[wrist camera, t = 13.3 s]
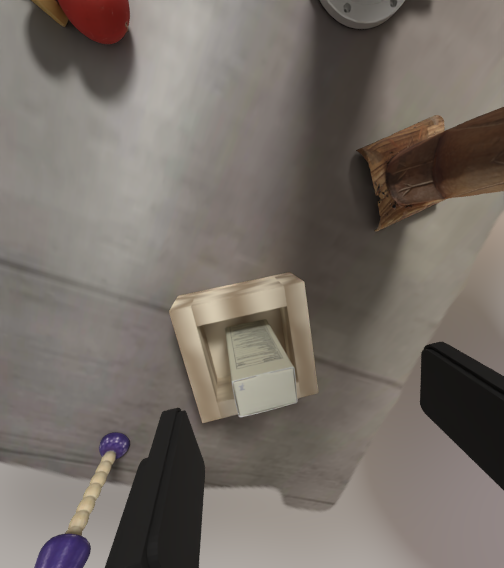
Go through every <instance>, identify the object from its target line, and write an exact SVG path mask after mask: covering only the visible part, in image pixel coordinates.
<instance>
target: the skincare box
mask: <svg viewBox="0 0 504 568" xmlns="http://www.w3.org/2000/svg"><path fill="white" fill-rule="evenodd" d="M225 331H226V339H227V348H228V356H229V364H230V372H231V381H232V387H233V393H234V398H235V403H236V408H237V412H238V416H239V417H244V416H249V415H253V414H258V413H262V412H265V411H269V410H273V409H277V408H280V407H284V406H288V405H291V404H295V403H297V387H296V376H295V368H294V367H293V365H292V363H291V361H290V360H289V358H288V356H287V354H286V353H285V351H284V349H283V348H282V346H281V344H280V342H279V340H278V339H277V337H276V335H275V334H274V332H273V330H272V328H271V327H270V325H269V323H268V321H267V320H266V319H264V320H258V321H253V322H248V323H243V324H239V325H235V326H230V327H226V328H225Z"/></svg>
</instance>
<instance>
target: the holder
mask: <svg viewBox="0 0 504 568" xmlns="http://www.w3.org/2000/svg"><path fill="white" fill-rule="evenodd" d="M169 313H170V317H171V320H172V323H173V327H174V330H175V333H176V337H177V340H178V343H179V347H180V350H181V353H182V357H183V360H184V363H185V367H186V370H187V373H188V377H189V380H190V383H191V387H192V390H193V393H194V397H195V400H196V403H197V407H198V410H199V413H200V417H201V420H202V423H205V422H209V421H213V420H217V419H221V418H225V417H229V416H232V415H236V414H238V412H237V408H236V403H235V398H234V393H233V387H232V381H231V372H230V364H229V356H228V348H227V339H226V331H225V328H226V327H230V326H235V325H239V324H243V323H248V322H253V321H258V320H264V319H266V320H267V321H268V323H269V325H270V327H271V328H272V330H273V332H274V334H275V335H276V337H277V339H278V340H279V342H280V344H281V346H282V348H283V349H284V351H285V353H286V354H287V356H288V358H289V360H290V361H291V363H292V365H293V367H294V368H295V376H296V387H297V399H298V398H301V397H305V396H309V395H313V394H317V393H318V385H317V377H316V369H315V362H314V354H313V346H312V338H311V330H310V322H309V315H308V307H307V299H306V291H305V283H304V281H302V280H301V279H299V278H298V277H296V276H295V275H293V274H292V273H290V272H288V273H283V274H279V275H274V276H269V277H264V278H260V279H255V280H250V281H246V282H241V283H236V284H232V285H227V286H222V287H218V288H213V289H208V290H204V291H199V292H194V293H189V294H185V295H180V296H178V297H177V298H176V300H175V302H174V304H173V305H172V307H171V309H170V311H169Z"/></svg>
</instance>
